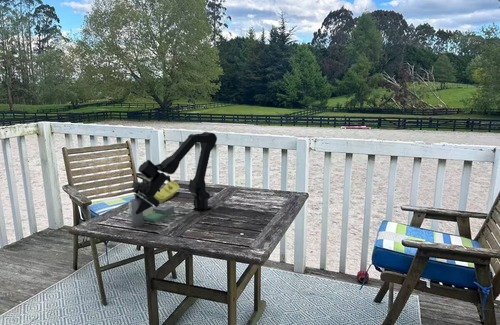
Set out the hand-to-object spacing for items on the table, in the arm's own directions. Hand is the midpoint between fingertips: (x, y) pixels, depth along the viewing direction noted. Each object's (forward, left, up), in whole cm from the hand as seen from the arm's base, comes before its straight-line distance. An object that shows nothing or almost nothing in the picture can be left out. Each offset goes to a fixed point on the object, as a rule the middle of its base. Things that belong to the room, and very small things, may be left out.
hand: (133, 212), depth 165 cm
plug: (-1, -1, -7) cm, 7 cm away
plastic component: (+15, -38, -7) cm, 41 cm away
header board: (+3, -14, -7) cm, 16 cm away
